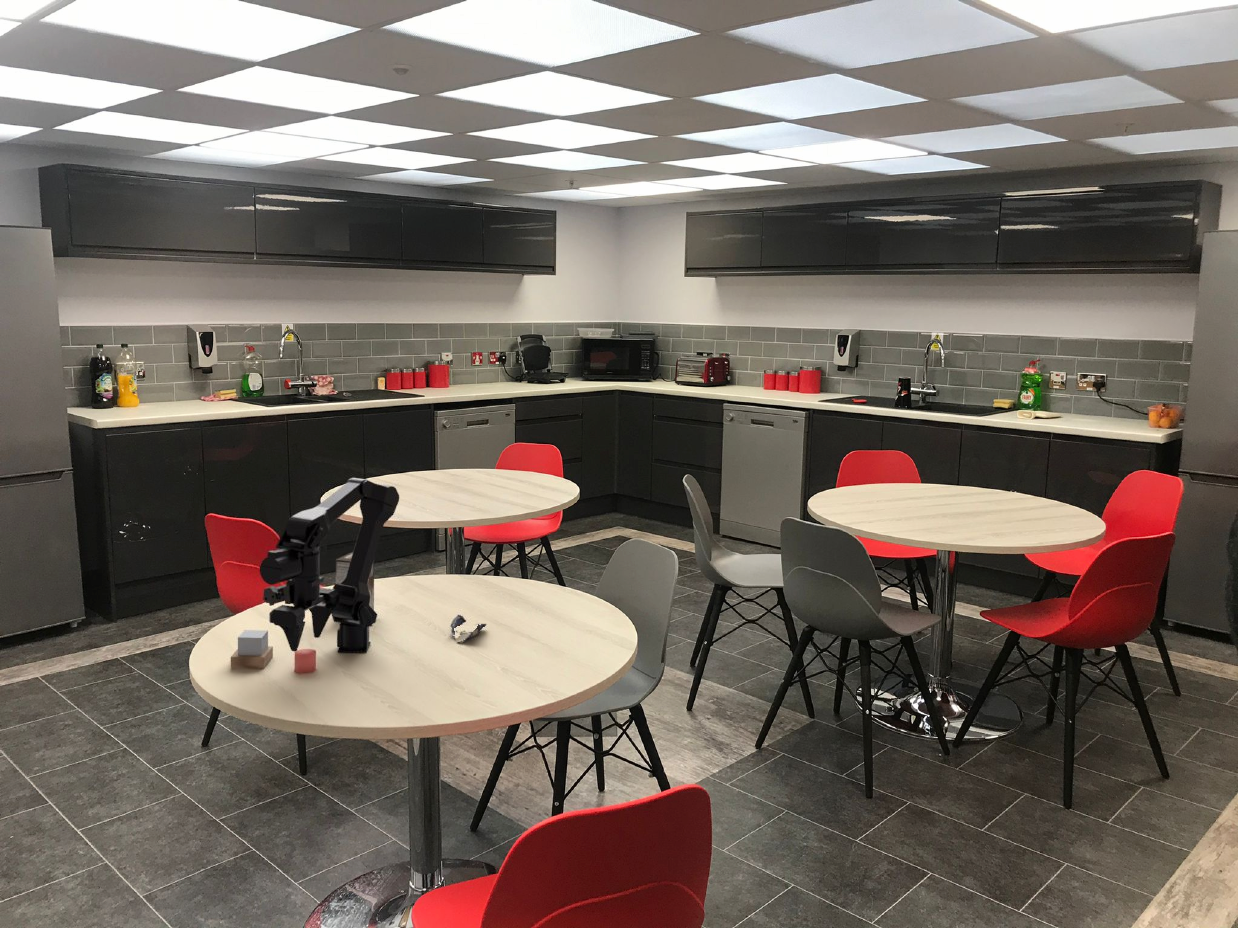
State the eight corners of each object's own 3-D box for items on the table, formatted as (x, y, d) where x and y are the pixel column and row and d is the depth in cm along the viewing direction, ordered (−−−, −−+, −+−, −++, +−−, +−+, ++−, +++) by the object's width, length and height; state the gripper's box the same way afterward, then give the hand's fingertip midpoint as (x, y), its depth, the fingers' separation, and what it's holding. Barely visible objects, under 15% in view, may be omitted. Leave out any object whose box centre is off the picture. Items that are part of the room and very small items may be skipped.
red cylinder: (317, 666, 204) (317, 648, 204) (313, 673, 200) (313, 655, 199) (297, 666, 204) (297, 648, 203) (292, 673, 200) (292, 655, 199)
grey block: (268, 647, 207) (268, 630, 206) (261, 655, 202) (261, 637, 201) (244, 647, 206) (244, 629, 206) (237, 655, 201) (237, 637, 201)
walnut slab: (272, 659, 208) (272, 646, 208) (264, 670, 201) (264, 657, 201) (240, 658, 208) (240, 645, 207) (230, 670, 201) (230, 656, 200)
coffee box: (352, 610, 245) (352, 551, 243) (374, 613, 244) (375, 553, 241) (334, 620, 236) (335, 559, 234) (358, 623, 235) (358, 561, 232)
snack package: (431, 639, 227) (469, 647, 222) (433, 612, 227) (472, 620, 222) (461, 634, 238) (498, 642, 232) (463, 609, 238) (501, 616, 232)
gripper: (295, 560, 210) (295, 627, 212) (245, 581, 192) (246, 653, 194) (340, 565, 207) (340, 632, 210) (294, 586, 189) (295, 660, 192)
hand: (305, 644), depth 201 cm, fingers open, 9 cm apart
